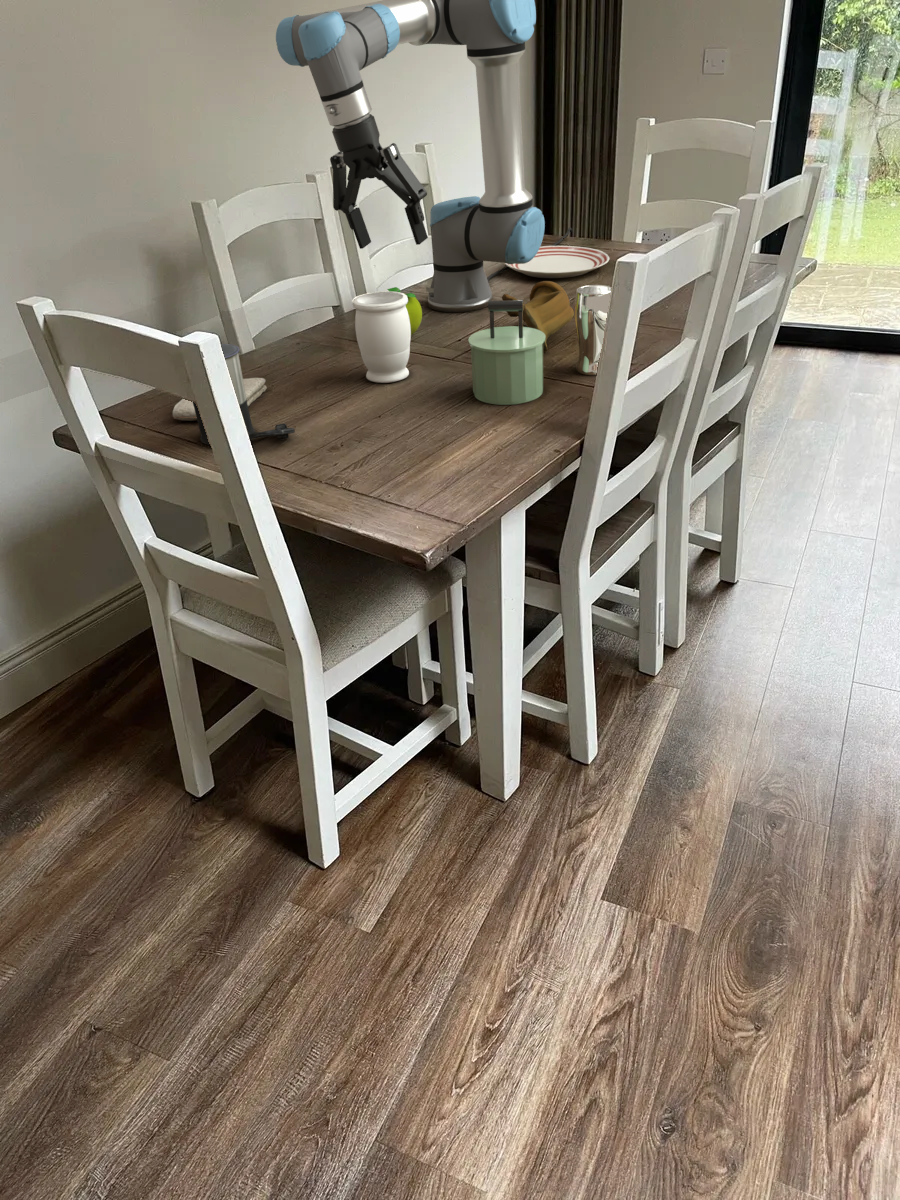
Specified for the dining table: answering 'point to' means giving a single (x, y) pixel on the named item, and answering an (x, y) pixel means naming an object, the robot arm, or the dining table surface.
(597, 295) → the beer glass
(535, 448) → the dining table surface
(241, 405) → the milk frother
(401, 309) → the jar
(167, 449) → the dining table surface
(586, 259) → the dinner plate
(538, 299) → the brown looped sculpture
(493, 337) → the pot lid
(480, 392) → the pot
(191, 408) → the washcloth
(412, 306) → the fruit
